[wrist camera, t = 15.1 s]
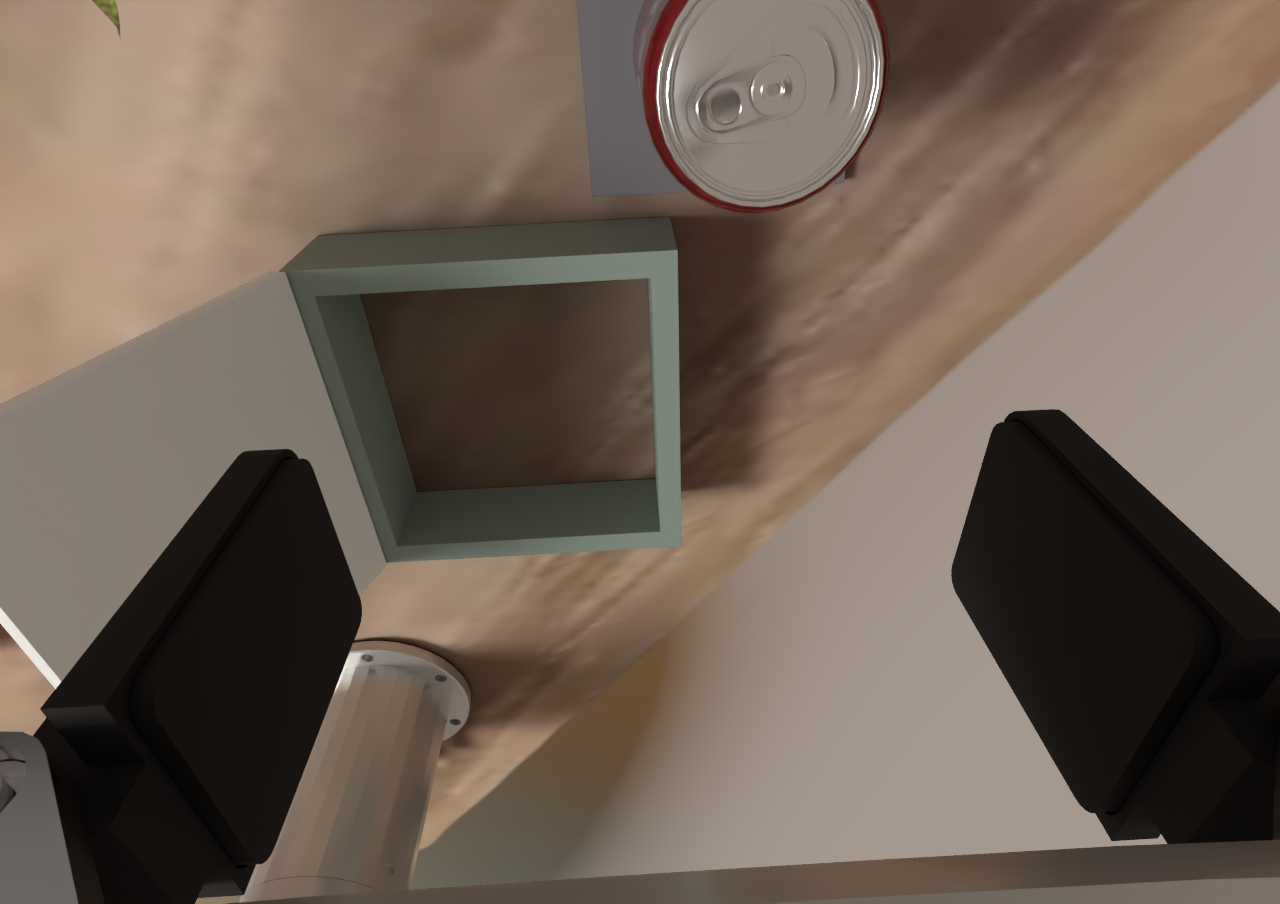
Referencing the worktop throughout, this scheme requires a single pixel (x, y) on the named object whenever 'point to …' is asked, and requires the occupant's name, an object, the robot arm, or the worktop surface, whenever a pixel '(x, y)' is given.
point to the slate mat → (618, 104)
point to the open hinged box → (304, 426)
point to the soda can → (760, 93)
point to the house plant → (109, 11)
